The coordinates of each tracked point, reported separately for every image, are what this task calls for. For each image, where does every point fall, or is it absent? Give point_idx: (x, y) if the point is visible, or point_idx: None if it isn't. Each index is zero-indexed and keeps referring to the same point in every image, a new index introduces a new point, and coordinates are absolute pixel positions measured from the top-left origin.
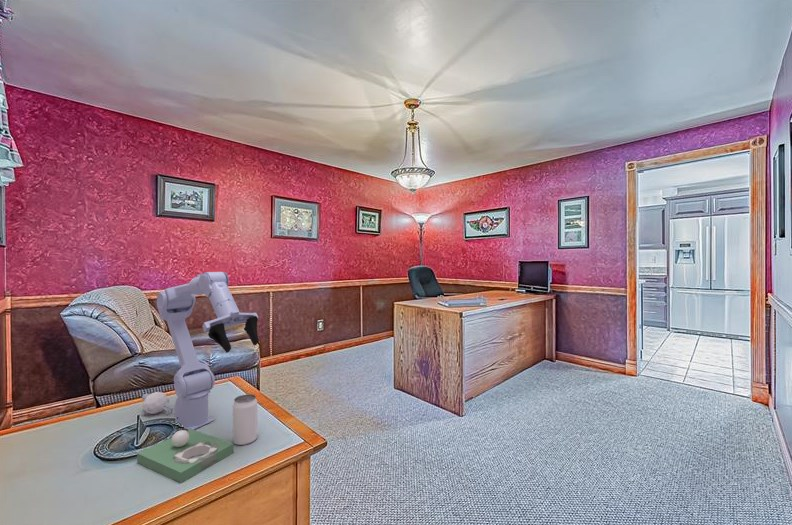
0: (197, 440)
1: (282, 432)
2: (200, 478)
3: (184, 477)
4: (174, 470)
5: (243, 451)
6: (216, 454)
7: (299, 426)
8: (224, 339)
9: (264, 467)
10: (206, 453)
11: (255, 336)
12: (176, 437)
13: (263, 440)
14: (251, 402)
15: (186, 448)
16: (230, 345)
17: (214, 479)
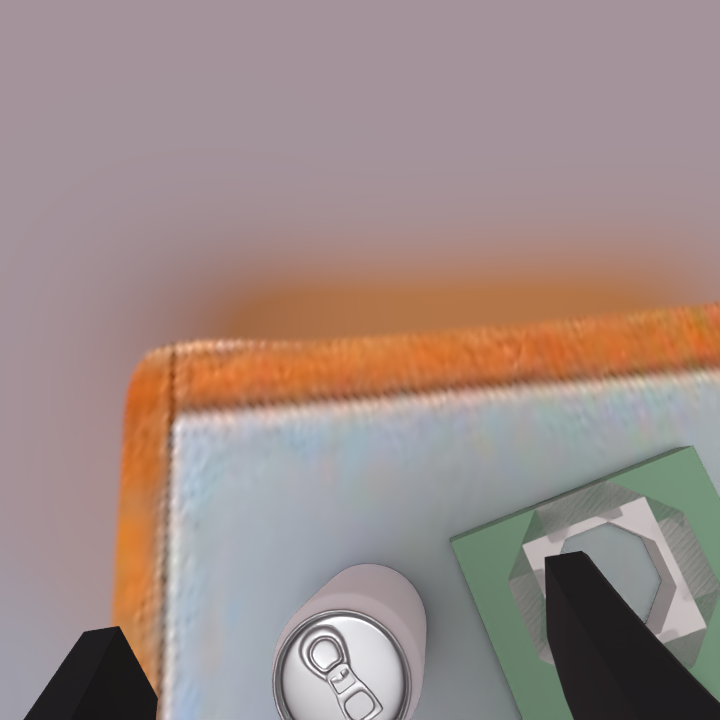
0: None
1: (210, 562)
2: (608, 429)
3: (669, 452)
4: (714, 490)
5: (411, 517)
6: (535, 507)
7: (123, 561)
8: (689, 676)
9: (386, 336)
10: None
11: (75, 696)
12: None
13: (307, 551)
14: (324, 608)
15: None
16: (560, 582)
17: (564, 385)
